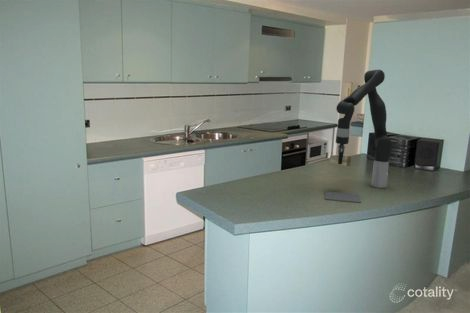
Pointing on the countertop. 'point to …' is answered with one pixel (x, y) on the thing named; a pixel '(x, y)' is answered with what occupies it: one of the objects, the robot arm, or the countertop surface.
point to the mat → (342, 197)
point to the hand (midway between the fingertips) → (339, 162)
